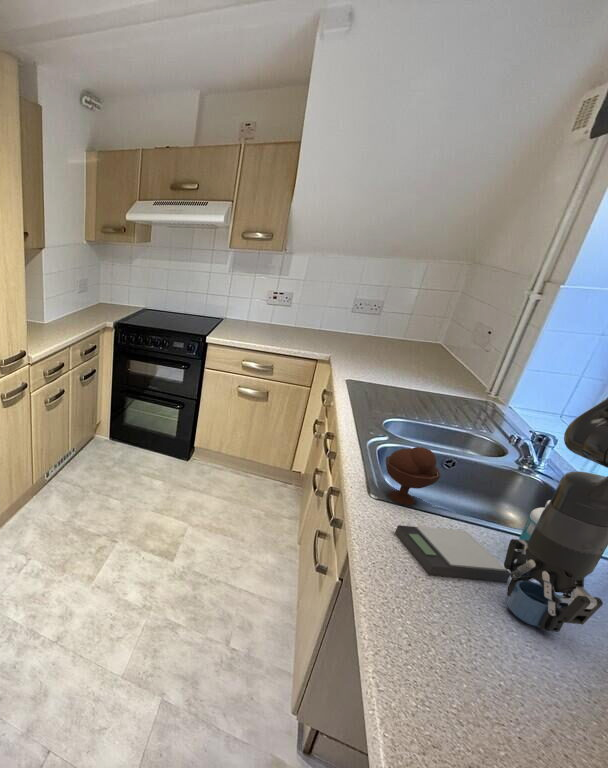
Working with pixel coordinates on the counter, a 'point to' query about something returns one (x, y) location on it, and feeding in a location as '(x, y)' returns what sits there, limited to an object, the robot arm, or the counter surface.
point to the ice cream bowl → (411, 471)
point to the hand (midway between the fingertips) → (529, 612)
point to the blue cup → (528, 602)
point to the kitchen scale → (451, 553)
